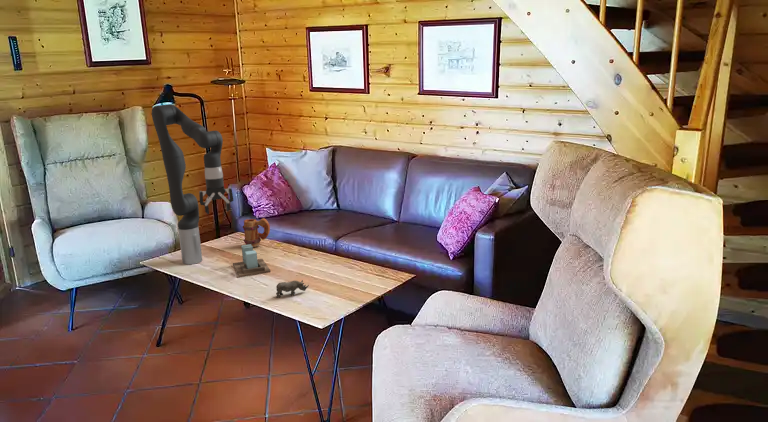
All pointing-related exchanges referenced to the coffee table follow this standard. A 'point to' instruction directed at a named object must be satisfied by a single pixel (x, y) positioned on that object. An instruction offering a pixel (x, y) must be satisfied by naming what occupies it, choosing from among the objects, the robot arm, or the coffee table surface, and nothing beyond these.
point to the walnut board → (243, 270)
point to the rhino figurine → (289, 287)
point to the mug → (255, 231)
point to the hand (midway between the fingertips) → (217, 212)
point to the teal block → (251, 259)
